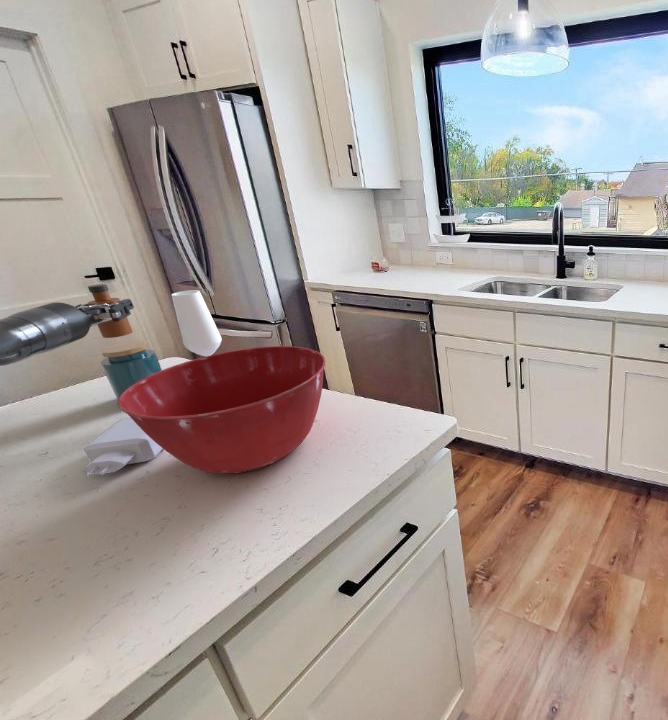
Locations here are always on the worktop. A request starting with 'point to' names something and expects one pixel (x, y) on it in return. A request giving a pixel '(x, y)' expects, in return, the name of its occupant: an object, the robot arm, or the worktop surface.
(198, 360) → the mixing bowl
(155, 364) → the teal jar
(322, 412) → the worktop surface
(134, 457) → the charger
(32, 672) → the worktop surface
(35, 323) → the robot arm
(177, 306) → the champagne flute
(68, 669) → the worktop surface
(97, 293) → the amber bottle
